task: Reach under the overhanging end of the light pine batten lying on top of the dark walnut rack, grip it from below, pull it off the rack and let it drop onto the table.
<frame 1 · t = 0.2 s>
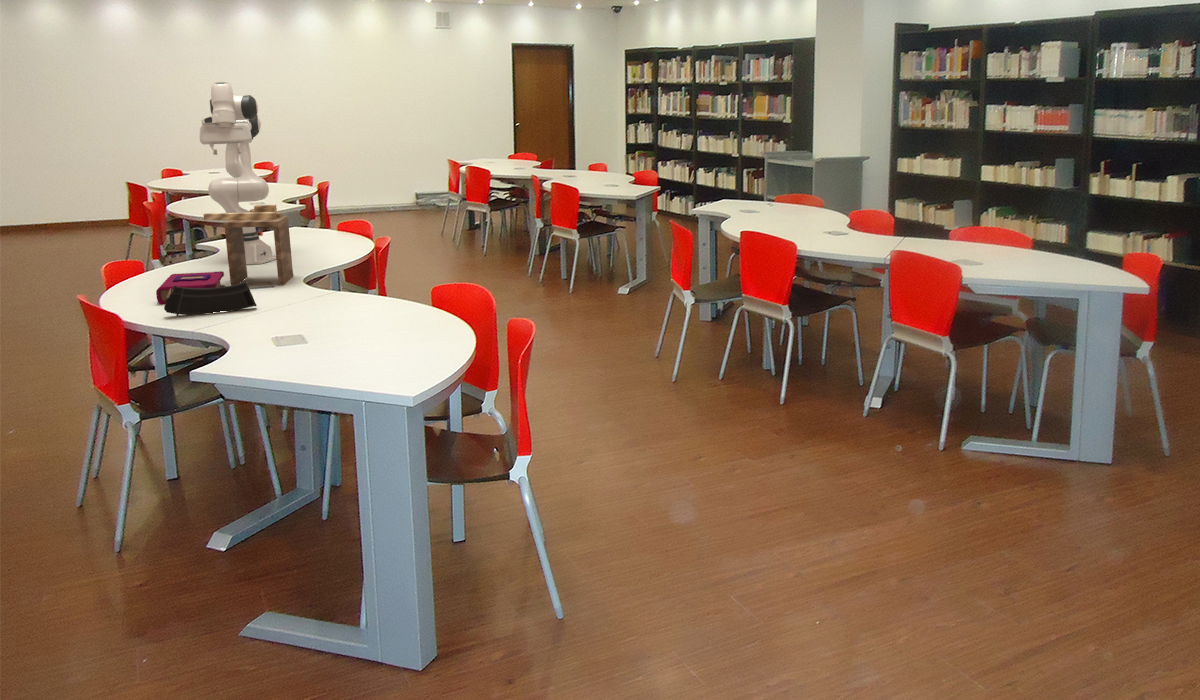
hand: (227, 153, 398), 52 cm above the table, tool tilted 20°, fingers open, 8 cm apart
magazine: (212, 313, 346), on the table
rack: (262, 281, 403), on the table
book: (193, 297, 376), on the table
batten: (240, 219, 395), point 26 cm above the table, touching rack
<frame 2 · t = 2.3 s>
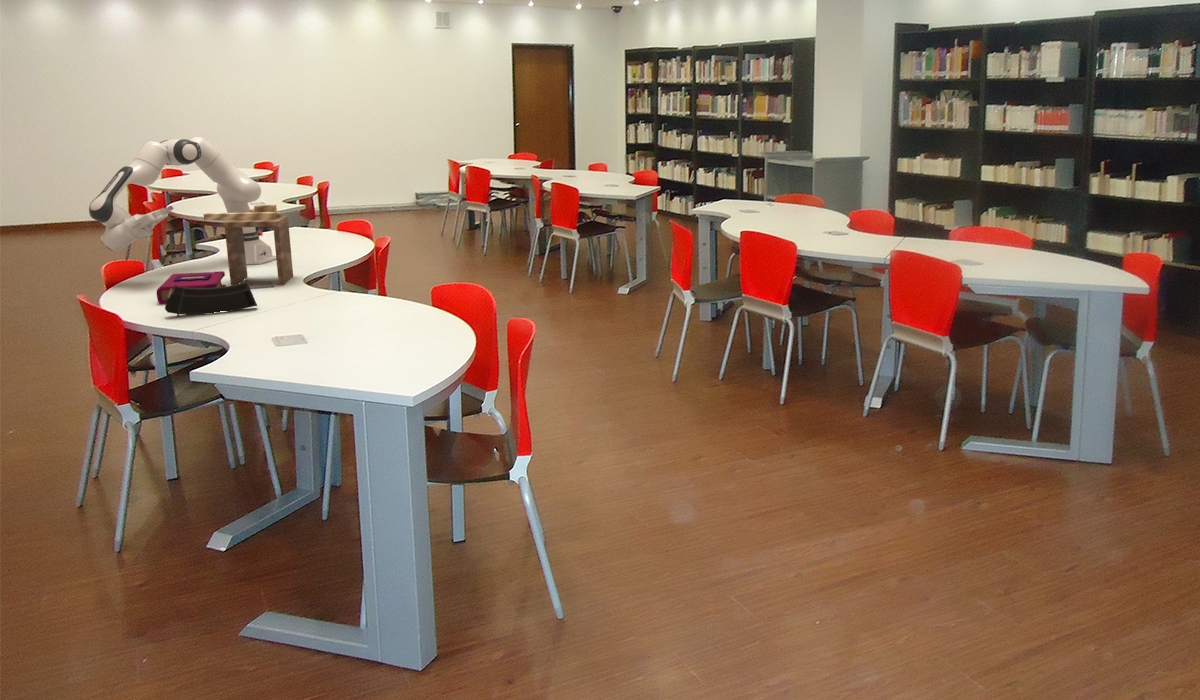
hand: (168, 208, 391), 31 cm above the table, tool pointing upward, fingers open, 8 cm apart
nothing on the table moved.
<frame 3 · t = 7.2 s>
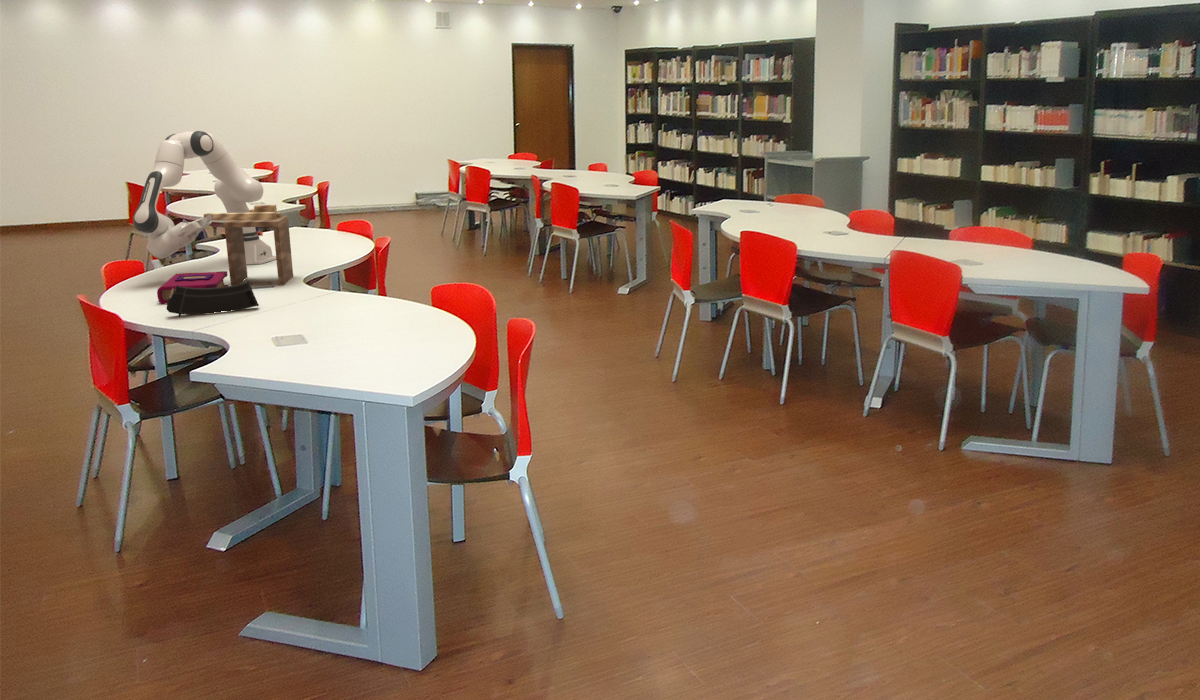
hand: (212, 215, 394), 28 cm above the table, tool pointing upward, fingers closed on batten, 3 cm apart
batten: (240, 219, 395), point 26 cm above the table, touching gripper, rack
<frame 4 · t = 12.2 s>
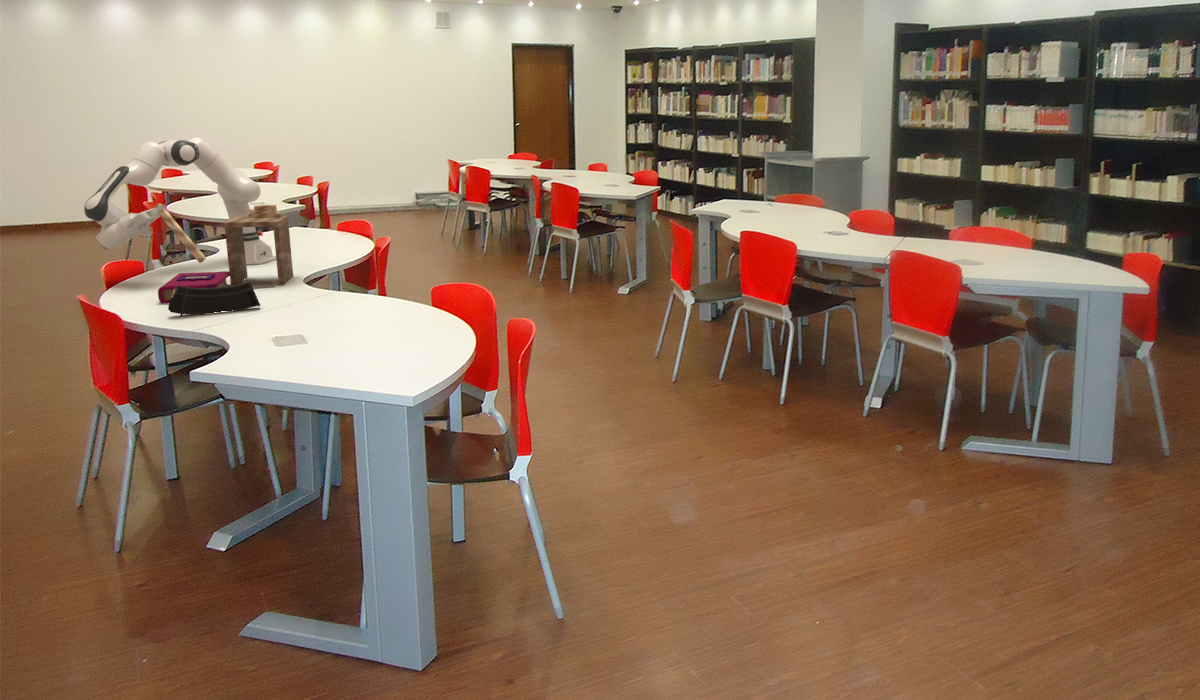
hand: (163, 206, 391), 32 cm above the table, tool pointing upward, fingers closed on batten, 3 cm apart
batten: (177, 235, 394), point 20 cm above the table, tilted 56°, touching gripper
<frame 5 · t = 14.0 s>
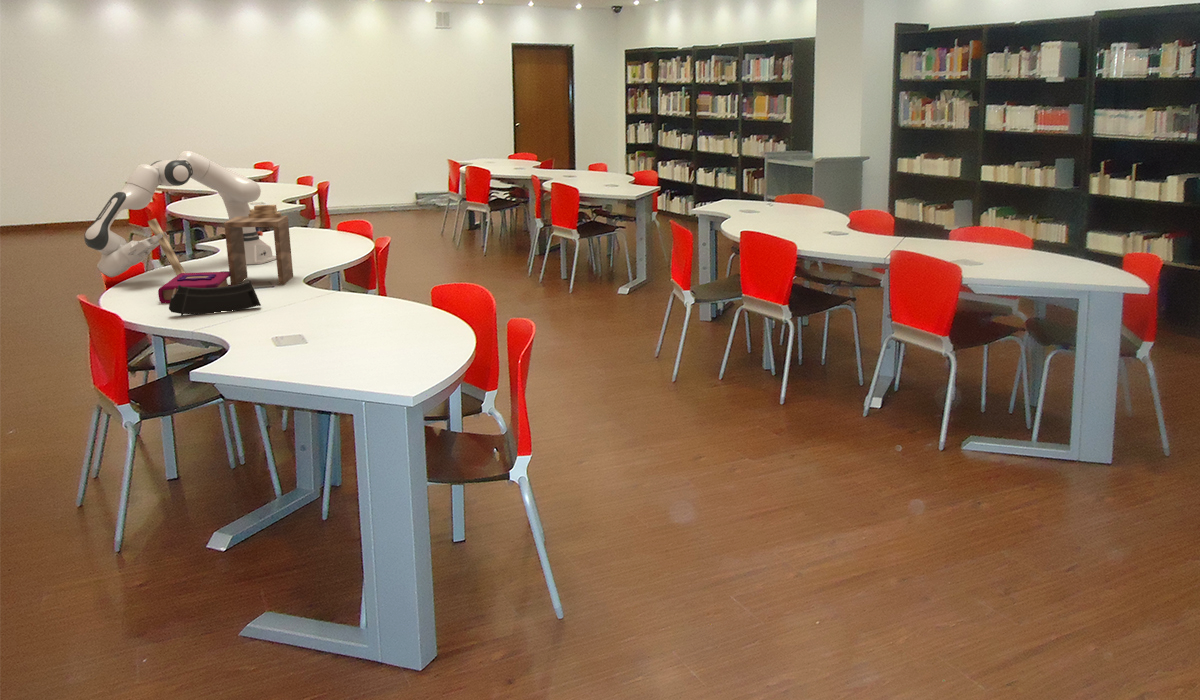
hand: (163, 234, 394), 21 cm above the table, tool pointing upward, fingers closed on batten, 3 cm apart
batten: (165, 252, 396), point 13 cm above the table, tilted 68°, touching gripper
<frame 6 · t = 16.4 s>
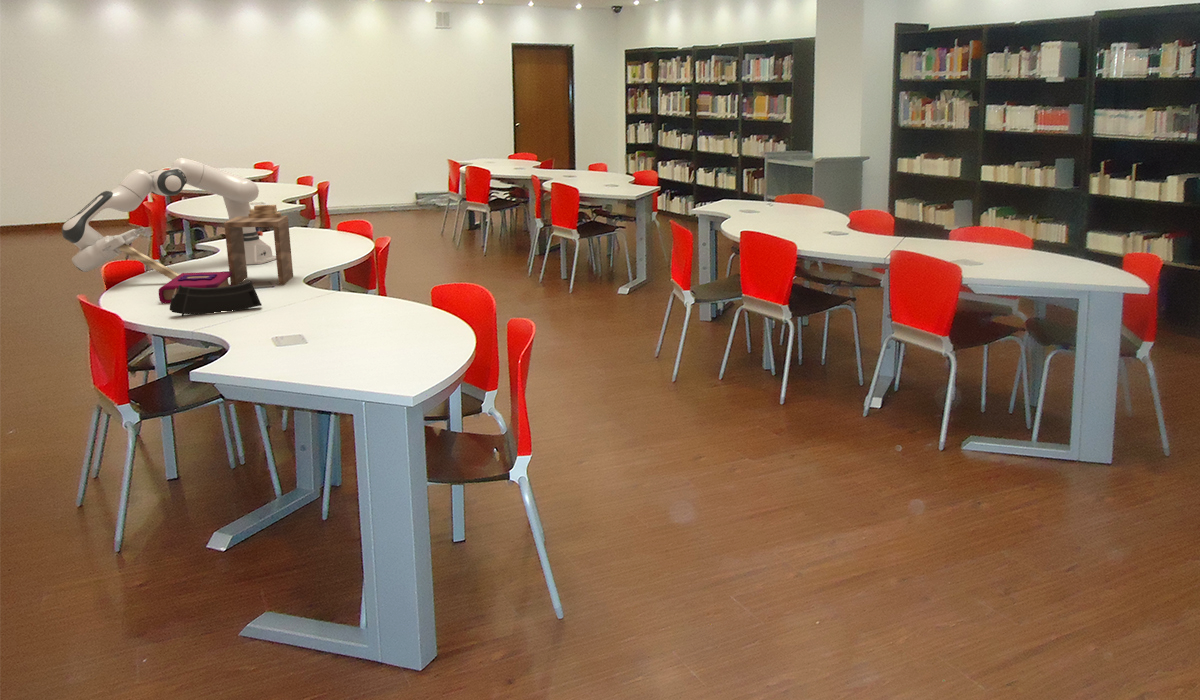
hand: (139, 230, 392), 22 cm above the table, tool pointing upward, fingers open, 8 cm apart
batten: (149, 265, 396), point 8 cm above the table, tilted 34°, touching arm
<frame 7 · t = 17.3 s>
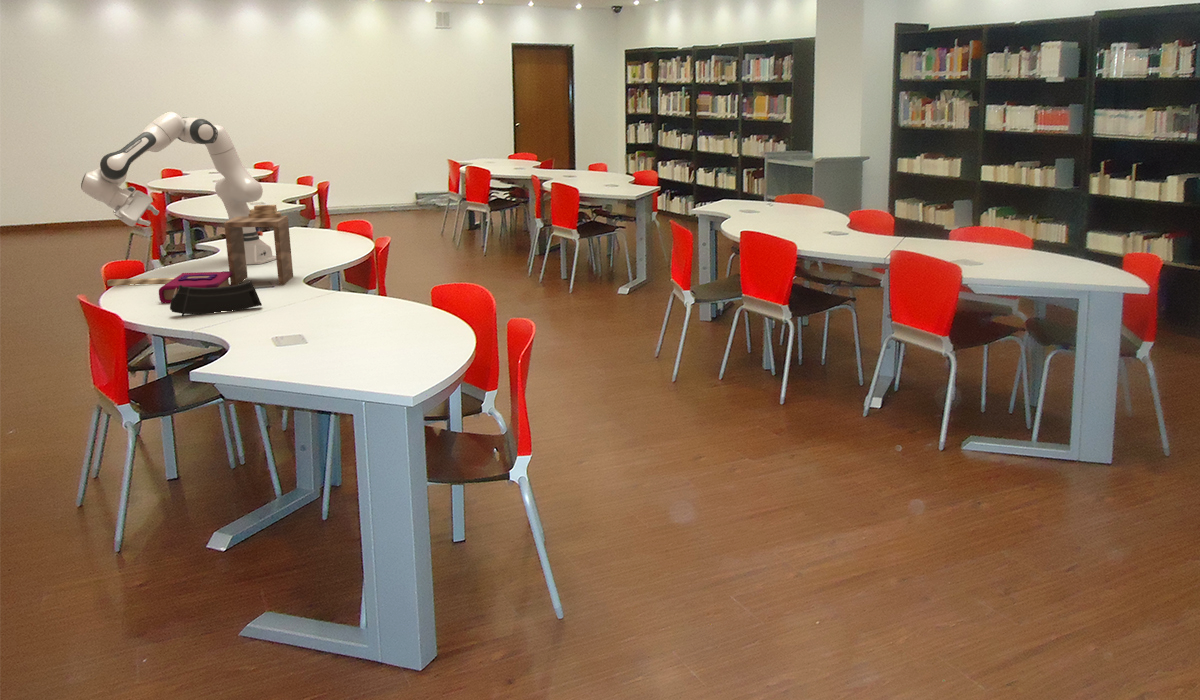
hand: (154, 218, 399), 26 cm above the table, tool tilted 55°, fingers open, 8 cm apart
batten: (144, 285, 398), on the table
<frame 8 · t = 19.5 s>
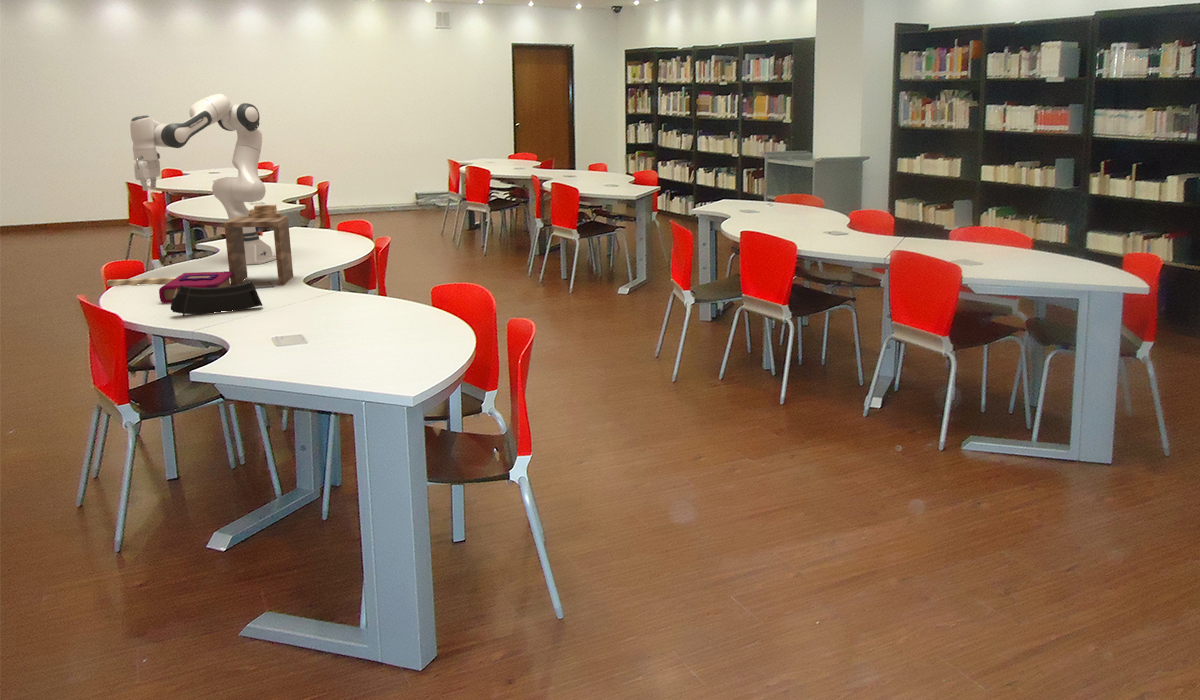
hand: (149, 189, 406), 37 cm above the table, tool pointing down, fingers open, 8 cm apart
at the end: batten touching table; the gripper is holding nothing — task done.
